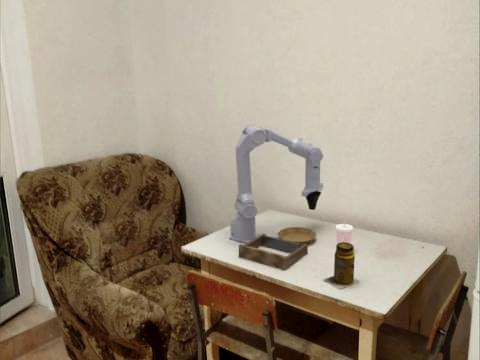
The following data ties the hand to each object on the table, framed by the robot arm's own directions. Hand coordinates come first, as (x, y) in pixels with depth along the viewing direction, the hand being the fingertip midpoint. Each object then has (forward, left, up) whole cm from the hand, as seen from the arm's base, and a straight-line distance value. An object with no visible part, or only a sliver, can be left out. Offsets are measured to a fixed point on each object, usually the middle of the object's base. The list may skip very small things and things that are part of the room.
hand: (312, 209), depth 182 cm
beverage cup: (+19, -12, -9) cm, 24 cm away
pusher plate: (0, -25, -9) cm, 26 cm away
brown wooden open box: (0, -29, -9) cm, 31 cm away
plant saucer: (0, -13, -9) cm, 15 cm away
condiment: (+28, -34, -9) cm, 45 cm away
